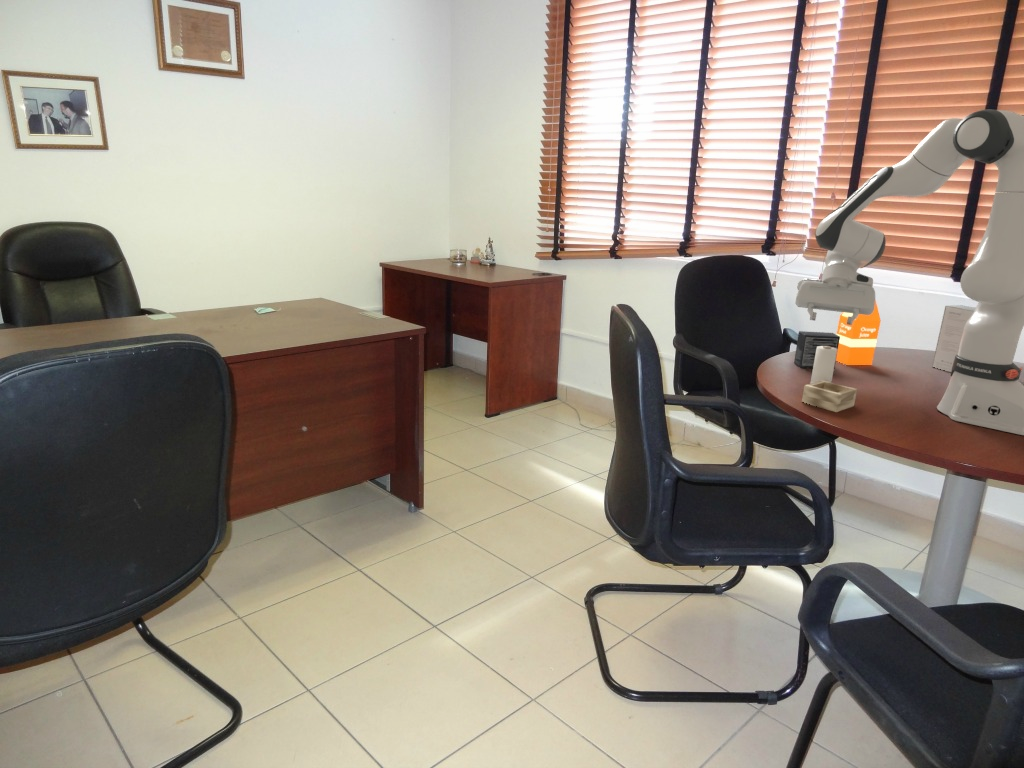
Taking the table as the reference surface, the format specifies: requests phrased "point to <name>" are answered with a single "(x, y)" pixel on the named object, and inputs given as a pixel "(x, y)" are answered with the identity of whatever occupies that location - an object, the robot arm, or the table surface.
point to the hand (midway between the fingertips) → (830, 321)
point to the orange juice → (858, 338)
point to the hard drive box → (951, 335)
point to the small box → (813, 346)
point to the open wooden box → (829, 395)
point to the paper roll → (823, 364)
